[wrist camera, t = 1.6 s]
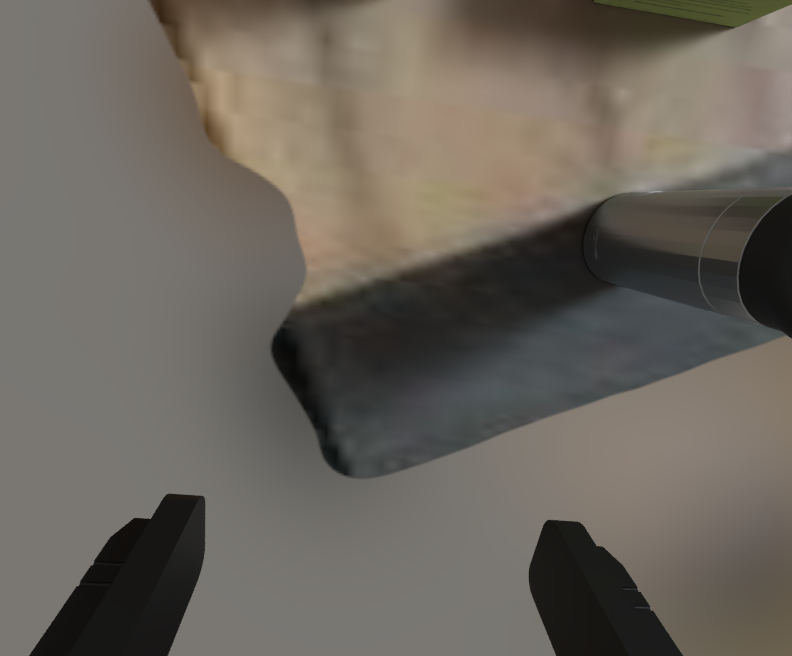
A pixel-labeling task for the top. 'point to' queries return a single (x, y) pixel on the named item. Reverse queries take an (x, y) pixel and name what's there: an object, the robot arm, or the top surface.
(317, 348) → the top surface
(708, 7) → the protein box
